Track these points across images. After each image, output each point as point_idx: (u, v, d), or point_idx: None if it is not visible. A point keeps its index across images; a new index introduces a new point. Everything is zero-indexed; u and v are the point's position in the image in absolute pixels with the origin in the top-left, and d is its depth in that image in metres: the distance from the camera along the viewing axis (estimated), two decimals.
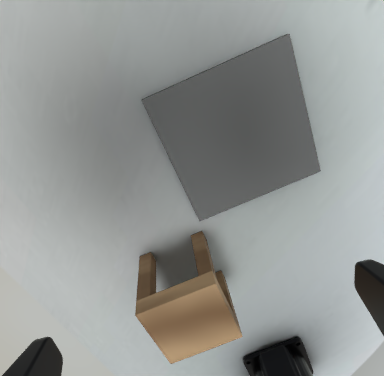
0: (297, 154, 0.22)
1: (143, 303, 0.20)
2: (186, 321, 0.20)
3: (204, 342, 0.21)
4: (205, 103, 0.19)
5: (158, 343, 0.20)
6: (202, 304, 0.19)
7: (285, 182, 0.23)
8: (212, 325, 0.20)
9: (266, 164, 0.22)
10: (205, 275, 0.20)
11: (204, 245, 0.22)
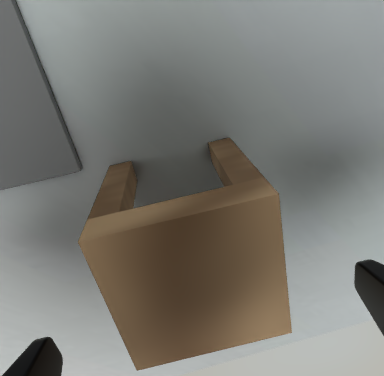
0: None
1: None
2: (179, 301, 0.09)
3: (256, 274, 0.09)
4: None
5: (224, 346, 0.10)
6: (138, 270, 0.09)
7: None
8: (212, 255, 0.09)
9: None
10: None
11: None
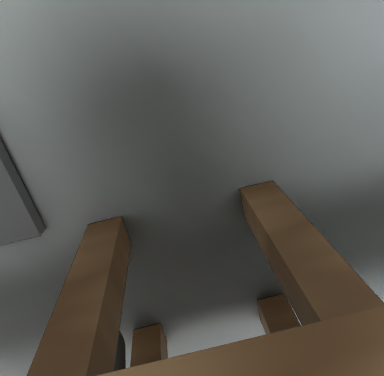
0: None
1: None
2: None
3: None
4: None
5: None
6: None
7: None
8: None
9: None
10: None
11: None
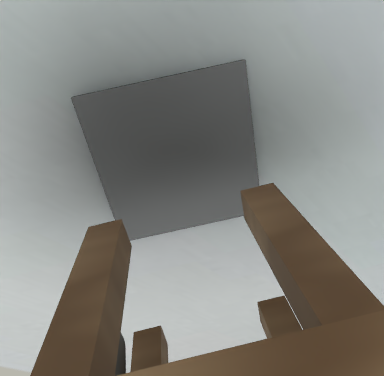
0: (212, 92, 0.17)
1: None
2: None
3: None
4: (133, 190, 0.19)
5: None
6: None
7: (246, 110, 0.18)
8: None
9: (215, 132, 0.18)
10: None
11: None
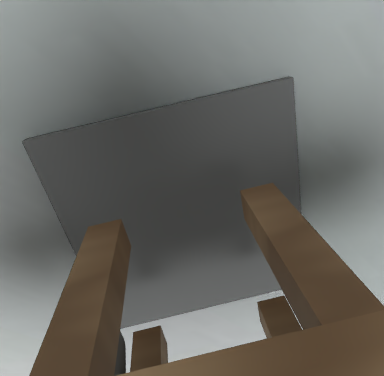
0: (241, 127, 0.11)
1: None
2: None
3: None
4: None
5: None
6: None
7: (291, 150, 0.12)
8: None
9: (243, 184, 0.12)
10: None
11: None
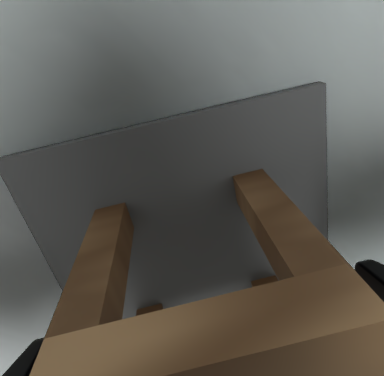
0: (261, 142, 0.09)
1: None
2: None
3: None
4: None
5: None
6: None
7: (319, 170, 0.10)
8: None
9: None
10: None
11: None
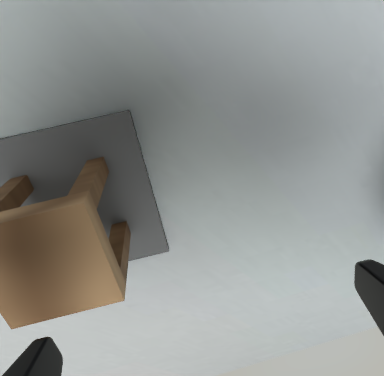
0: (100, 142, 0.17)
1: None
2: (31, 277, 0.13)
3: (84, 258, 0.13)
4: None
5: (74, 310, 0.14)
6: None
7: (137, 157, 0.18)
8: (47, 244, 0.13)
9: (108, 179, 0.18)
10: None
11: None
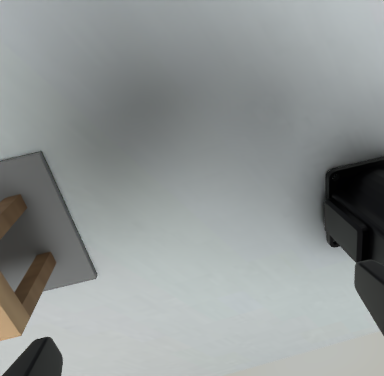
0: (14, 181, 0.18)
1: None
2: None
3: None
4: None
5: None
6: None
7: (53, 194, 0.19)
8: None
9: (27, 214, 0.19)
10: None
11: None
